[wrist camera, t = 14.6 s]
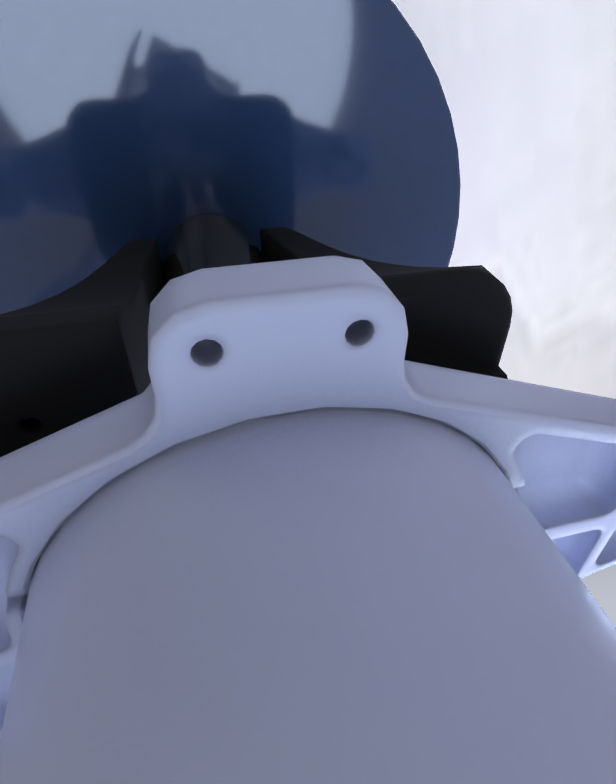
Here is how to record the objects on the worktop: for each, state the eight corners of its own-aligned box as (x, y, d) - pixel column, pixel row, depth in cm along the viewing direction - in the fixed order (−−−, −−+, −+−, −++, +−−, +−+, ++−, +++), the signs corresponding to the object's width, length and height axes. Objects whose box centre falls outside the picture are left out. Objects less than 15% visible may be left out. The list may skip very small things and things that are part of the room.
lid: (258, 479, 21) (285, 592, 17) (-183, 315, 13) (-323, 455, 9) (531, 189, 16) (656, 255, 12) (76, -365, 8) (10, -698, 4)
